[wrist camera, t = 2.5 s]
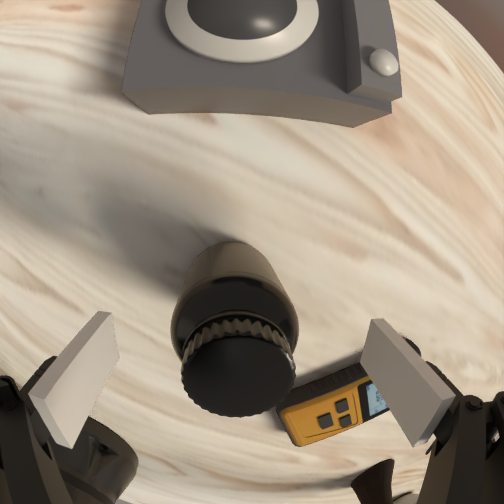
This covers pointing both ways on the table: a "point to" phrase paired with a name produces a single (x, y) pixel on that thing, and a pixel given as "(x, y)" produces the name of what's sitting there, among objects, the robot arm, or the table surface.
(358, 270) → the table surface
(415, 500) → the teacup
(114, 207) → the table surface
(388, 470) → the t-shaped wooden sculpture
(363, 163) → the table surface
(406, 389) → the robot arm
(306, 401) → the electronic device
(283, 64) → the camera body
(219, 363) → the supplement bottle
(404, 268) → the table surface
